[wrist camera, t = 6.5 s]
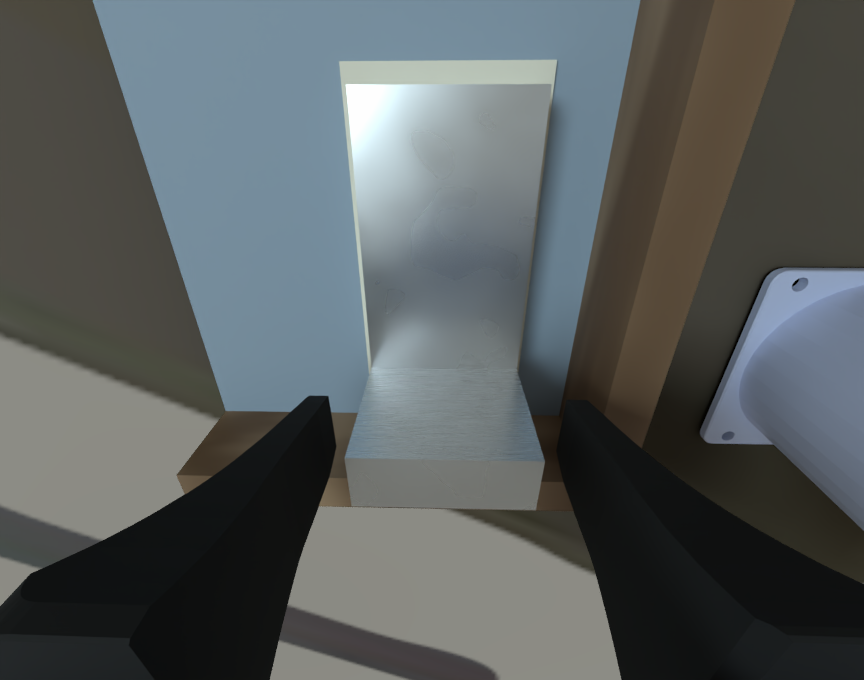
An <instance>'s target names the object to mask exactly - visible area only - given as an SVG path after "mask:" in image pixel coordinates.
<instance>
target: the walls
mask: <svg viewBox="0 0 864 680" xmlns="http://www.w3.org/2000/svg"><path fill="white" fill-rule="evenodd" d="M794 3H795V0H640V5H639V10H638V15H637V20H636V25H635V30H634V35H633V41H632V46H631V51H630V56H629V61H628V66H627V71H626V76H625V81H624V87H623V92H622V97H621V102H620V107H619V112H618V117H617V122H616V127H615V132H614V138H613V143H612V148H611V153H610V158H609V163H608V168H607V173H606V178H605V183H604V189H603V194H602V199H601V204H600V209H599V214H598V219H597V224H596V229H595V234H594V240H593V245H592V250H591V255H590V260H589V265H588V270H587V275H586V280H585V285H584V291H583V296H582V301H581V306H580V311H579V316H578V321H577V326H576V331H575V337H574V342H573V347H572V352H571V357H570V362H569V367H568V372H567V377H566V382H565V388H564V393H563V398H562V403H561V408H560V413H559V416H552V415H531V417H532V421H533V424H534V427H535V431H536V434H537V437H538V440H539V444H540V447H541V450H542V453H543V457H544V460H545V464H544V470H543V475H542V480H541V485H540V491H539V496H538V501H537V507H536V510H534V511H574V510H573V508H572V505H571V502H570V499H569V497H568V494H567V491H566V488H565V485H564V483H563V479H562V475H561V470H560V466H559V461H558V457H557V452H556V449H557V444H558V439H559V434H560V429H561V424H562V419H563V414H564V409H565V404H566V400H588V401H589V402H590V403H591V404H592V405H593V406H595V407H596V408H597V409H598V410H599V411H600V412H601V413H602V414H603V415H604V416H606V417H607V418H608V419H609V420H610V421H611V422H612V423H613V424H614V425H615V426H617V427H618V428H619V429H620V430H621V431H622V432H623V433H624V434H625V435H627V436H628V437H629V438H630V439H631V440H632V441H633V442H635V443H636V444H637V445H638V446H639V447H640V448H642V446H643V443H644V440H645V437H646V434H647V431H648V428H649V425H650V422H651V420H652V417H653V414H654V411H655V408H656V405H657V402H658V399H659V396H660V393H661V390H662V387H663V385H664V382H665V379H666V376H667V373H668V370H669V367H670V364H671V361H672V358H673V355H674V353H675V350H676V347H677V344H678V341H679V338H680V335H681V332H682V329H683V326H684V323H685V320H686V318H687V315H688V312H689V309H690V306H691V303H692V300H693V297H694V294H695V291H696V288H697V286H698V283H699V280H700V277H701V274H702V271H703V268H704V265H705V262H706V259H707V256H708V253H709V251H710V248H711V245H712V242H713V239H714V236H715V233H716V230H717V227H718V224H719V221H720V219H721V216H722V213H723V210H724V207H725V204H726V201H727V198H728V195H729V192H730V189H731V186H732V184H733V181H734V178H735V175H736V172H737V169H738V166H739V163H740V160H741V157H742V154H743V152H744V149H745V146H746V143H747V140H748V137H749V134H750V131H751V128H752V125H753V122H754V119H755V117H756V114H757V111H758V108H759V105H760V102H761V99H762V96H763V93H764V90H765V87H766V84H767V82H768V79H769V76H770V73H771V70H772V67H773V64H774V61H775V58H776V55H777V52H778V50H779V47H780V44H781V41H782V38H783V35H784V32H785V29H786V26H787V23H788V20H789V17H790V15H791V12H792V9H793V6H794ZM289 413H290V412H267V411H225V413H224V414H223V415H222V417H221V418H220V419H219V421H218V422H217V423H216V425H215V426H214V427H213V428H212V430H211V431H210V432H209V434H208V435H207V436H206V438H205V439H204V440H203V441H202V443H201V444H200V445H199V447H198V448H197V449H196V451H195V452H194V453H193V454H192V456H191V457H190V458H189V460H188V461H187V462H186V464H185V465H184V466H183V468H182V469H181V470H180V472H179V473H178V474H177V477H178V480H179V482H180V484H181V486H182V489H183V491H184V493H185V494H186V493H188V492H190V491H191V490H193V489H194V488H196V487H197V486H199V485H200V484H202V483H203V482H205V481H206V480H208V479H209V478H211V477H212V476H214V475H215V474H216V473H218V472H219V471H221V470H222V469H223V468H225V467H226V466H227V465H229V464H230V463H231V462H233V461H234V460H235V459H236V458H238V457H239V456H240V455H241V454H243V453H244V452H245V451H246V450H247V449H249V448H250V447H251V446H252V445H254V444H255V443H256V442H257V441H259V440H260V439H261V438H262V437H263V436H264V435H266V434H267V433H268V432H269V431H270V430H271V429H272V428H273V427H275V426H276V425H277V424H278V423H279V422H280V421H281V420H282V419H283V418H285V417H286V416H287V415H288V414H289ZM357 414H358V413H338V412H331V415H332V421H333V427H334V433H335V439H336V446H337V447H336V451H335V456H334V460H333V465H332V469H331V473H330V477H329V480H328V482H327V485H326V488H325V491H324V493H323V496H322V499H321V502H320V504H319V506H333V507H336V506H337V507H358V506H352V505H351V499H350V492H349V485H348V478H347V472H346V465H345V455H346V451H347V448H348V445H349V441H350V438H351V435H352V431H353V428H354V424H355V421H356V418H357ZM384 508H406V507H384ZM433 509H455V508H433ZM484 510H503V509H484Z"/></svg>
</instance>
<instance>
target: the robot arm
mask: <svg viewBox="0 0 864 680" xmlns="http://www.w3.org/2000/svg"><path fill="white" fill-rule="evenodd" d="M797 279H799V281H798V283H797V284H796V285H794V286H793V287H792V284H793V283H794V282H795V281H796V280H797ZM700 435H701V437H702V438H703V439H704V440H705V441H706V442H707V443H712V444H773V445H775V446H776V447H777V448H778V449H779V450H780V451H781V452H782V453H783V454H784V455H785V456H786V457H787V458H788V459H789V460H790V461H791V462H792V463H793V464H795V465H796V466H797V467H798V468H799V469H800V470H801V471H802V472H803V473H804V474H805V475H806V476H807V477H808V478H809V479H810V480H811V481H812V482H813V483H814V484H815V485H816V486H817V487H819V488H820V489H821V490H822V491H823V492H824V493H825V494H826V495H827V496H828V497H829V498H830V499H831V500H832V501H833V502H834V503H835V504H836V505H837V506H838V507H839V508H840V509H841V510H843V511H844V512H845V513H846V514H847V515H848V516H849V517H850V518H851V519H852V520H853V521H854V522H855V523H856V524H857V525H858V526H859V527H860V528H861V529H862V530H863V531H864V268H779V269H777V270H774V271H772V272H771V273H770V274H769V275H768V276H767V277H766V279H765V280H764V282H763V284H762V287H761V289H760V291H759V294H758V296H757V299H756V301H755V303H754V306H753V308H752V310H751V313H750V315H749V317H748V320H747V322H746V324H745V327H744V329H743V331H742V334H741V336H740V338H739V341H738V343H737V345H736V348H735V350H734V352H733V355H732V357H731V359H730V362H729V364H728V366H727V369H726V371H725V373H724V376H723V378H722V380H721V383H720V385H719V387H718V390H717V392H716V394H715V397H714V399H713V401H712V404H711V406H710V408H709V411H708V413H707V415H706V418H705V420H704V423H703V425H702V427H701V430H700ZM336 447H337V446H336V439H335V433H334V427H333V421H332V415H331V408H330V402H329V396H308V397H307V398H305V399H304V400H303V401H302V402H301V403H300V404H299V405H298V406H297V407H295V408H294V409H293V410H292V411H291V412H290V413H289V414H288V415H287V416H286V417H285V418H283V419H282V420H281V421H280V422H279V423H278V424H277V425H276V426H275V427H273V428H272V429H271V430H270V431H269V432H268V433H267V434H266V435H264V436H263V437H262V438H261V439H260V440H259V441H257V442H256V443H255V444H254V445H252V446H251V447H250V448H249V449H247V450H246V451H245V452H244V453H243V454H241V455H240V456H239V457H238V458H236V459H235V460H234V461H233V462H231V463H230V464H229V465H227V466H226V467H225V468H223V469H222V470H221V471H219V472H218V473H216V474H215V475H214V476H212V477H211V478H209V479H208V480H206V481H205V482H203V483H202V484H200V485H199V486H197V487H196V488H194V489H193V490H191V491H190V492H188V493H186V494H185V495H183V496H182V497H180V498H178V499H177V500H175V501H173V502H172V503H170V504H168V505H167V506H165V507H163V508H162V509H160V510H159V511H157V512H155V513H153V514H152V515H150V516H148V517H146V518H144V519H143V520H141V521H139V522H137V523H135V524H134V525H132V526H130V527H128V528H126V529H124V530H122V531H120V532H118V533H116V534H115V535H113V536H111V537H109V538H107V539H105V540H103V541H101V542H99V543H97V544H95V545H93V546H90V547H88V548H86V549H84V550H82V551H80V552H77V553H75V554H73V555H71V556H69V557H67V558H64V559H62V560H60V561H58V562H56V563H54V564H51V565H49V566H47V567H45V568H43V569H40V570H38V571H36V572H33V573H31V574H30V575H29V576H28V577H27V579H25V580H24V581H23V582H22V583H21V585H20V586H19V587H18V588H17V589H16V590H15V591H14V592H13V593H12V595H10V596H9V598H8V599H7V600H6V601H5V602H4V603H3V604H2V605H1V606H0V680H270V675H271V671H272V667H273V662H274V658H275V653H276V649H277V645H278V641H279V636H280V632H281V628H282V624H283V620H284V616H285V612H286V608H287V604H288V600H289V596H290V592H291V589H292V585H293V580H294V577H295V573H296V570H297V566H298V563H299V559H300V556H301V553H302V550H303V547H304V545H305V542H306V539H307V536H308V534H309V531H310V528H311V526H312V523H313V520H314V518H315V515H316V512H317V510H318V507H319V504H320V502H321V499H322V496H323V493H324V491H325V488H326V485H327V482H328V480H329V477H330V473H331V469H332V465H333V460H334V456H335V451H336ZM556 452H557V457H558V461H559V466H560V470H561V475H562V479H563V483H564V485H565V488H566V491H567V494H568V497H569V499H570V502H571V505H572V508H573V510H574V513H575V516H576V519H577V521H578V524H579V527H580V529H581V532H582V535H583V538H584V540H585V543H586V546H587V548H588V551H589V554H590V557H591V560H592V563H593V566H594V569H595V573H596V576H597V580H598V584H599V588H600V591H601V595H602V599H603V603H604V607H605V611H606V615H607V618H608V623H609V627H610V631H611V635H612V640H613V643H614V647H615V652H616V657H617V661H618V666H619V670H620V675H621V679H622V680H864V584H862V583H860V582H858V581H856V580H854V579H851V578H849V577H847V576H845V575H843V574H841V573H839V572H837V571H835V570H833V569H830V568H828V567H826V566H824V565H822V564H820V563H818V562H816V561H815V560H813V559H811V558H809V557H807V556H805V555H803V554H801V553H799V552H798V551H796V550H794V549H792V548H790V547H788V546H786V545H784V544H782V543H781V542H779V541H777V540H775V539H774V538H772V537H770V536H768V535H766V534H765V533H763V532H761V531H759V530H758V529H756V528H754V527H753V526H751V525H749V524H748V523H746V522H744V521H743V520H741V519H739V518H738V517H736V516H734V515H733V514H731V513H729V512H728V511H726V510H725V509H723V508H722V507H720V506H719V505H717V504H715V503H714V502H712V501H711V500H709V499H708V498H706V497H705V496H704V495H702V494H701V493H699V492H698V491H696V490H695V489H693V488H692V487H691V486H689V485H688V484H686V483H685V482H683V481H682V480H681V479H679V478H678V477H677V476H675V475H674V474H673V473H671V472H670V471H669V470H668V469H666V468H665V467H664V466H663V465H661V464H660V463H659V462H657V461H656V460H655V459H654V458H652V457H651V456H650V455H649V454H648V453H646V452H645V451H644V450H643V449H642V448H640V447H639V446H638V445H637V444H636V443H635V442H633V441H632V440H631V439H630V438H629V437H628V436H627V435H625V434H624V433H623V432H622V431H621V430H620V429H619V428H618V427H617V426H615V425H614V424H613V423H612V422H611V421H610V420H609V419H608V418H607V417H606V416H604V415H603V414H602V413H601V412H600V411H599V410H598V409H597V408H596V407H595V406H593V405H592V404H591V403H590V402H589V401H588V400H566V404H565V409H564V414H563V419H562V424H561V429H560V434H559V439H558V444H557V449H556Z"/></svg>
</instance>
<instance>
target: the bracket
mask: <svg viewBox="0 0 864 680" xmlns="http://www.w3.org/2000/svg"><path fill="white" fill-rule="evenodd" d="M551 86H552V84H402V85H346V89H347V100H348V111H349V123H350V134H351V145H352V156H353V167H354V178H355V189H356V200H357V212H358V223H359V234H360V245H361V256H362V267H363V278H364V290H365V301H366V312H367V323H368V334H369V345H370V356H371V371H370V374H369V378H368V381H367V384H366V388H365V391H364V394H363V398H362V401H361V404H360V408H359V411H358V414H357V418H356V421H355V424H354V428H353V431H352V435H351V438H350V441H349V445H348V448H347V451H346V455H345V465H346V472H347V478H348V485H349V492H350V499H351V505H352V506H358V507H406V508H455V509H503V510H536V507H537V501H538V496H539V491H540V485H541V480H542V475H543V470H544V464H545V460H544V457H543V453H542V450H541V447H540V444H539V440H538V437H537V434H536V431H535V427H534V424H533V421H532V417H531V414H530V411H529V408H528V404H527V401H526V398H525V395H524V391H523V388H522V385H521V381H520V378H519V375H518V372H517V364H518V356H519V347H520V339H521V331H522V323H523V315H524V307H525V298H526V290H527V282H528V274H529V266H530V258H531V249H532V241H533V233H534V225H535V217H536V209H537V201H538V192H539V184H540V176H541V168H542V160H543V152H544V143H545V135H546V127H547V119H548V111H549V103H550V94H551Z"/></svg>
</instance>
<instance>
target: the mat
mask: <svg viewBox="0 0 864 680" xmlns="http://www.w3.org/2000/svg"><path fill="white" fill-rule="evenodd" d="M93 3H94V6H95V9H96V12H97V15H98V18H99V21H100V24H101V27H102V30H103V33H104V37H105V40H106V43H107V46H108V49H109V52H110V55H111V58H112V61H113V64H114V67H115V70H116V74H117V77H118V80H119V83H120V86H121V89H122V92H123V95H124V98H125V101H126V104H127V107H128V111H129V114H130V117H131V120H132V123H133V126H134V129H135V132H136V135H137V138H138V141H139V144H140V148H141V151H142V154H143V157H144V160H145V163H146V166H147V169H148V172H149V175H150V178H151V181H152V185H153V188H154V191H155V194H156V197H157V200H158V203H159V206H160V209H161V212H162V215H163V218H164V222H165V225H166V228H167V231H168V234H169V237H170V240H171V243H172V246H173V249H174V252H175V255H176V259H177V262H178V265H179V268H180V271H181V274H182V277H183V280H184V283H185V286H186V289H187V292H188V296H189V299H190V302H191V305H192V308H193V311H194V314H195V317H196V320H197V323H198V326H199V329H200V333H201V336H202V339H203V342H204V345H205V348H206V351H207V354H208V357H209V360H210V363H211V366H212V370H213V373H214V376H215V379H216V382H217V385H218V388H219V391H220V394H221V397H222V400H223V403H224V407H225V410H226V411H267V412H291V411H292V410H293V409H294V408H295V407H297V406H298V405H299V404H300V403H301V402H302V401H303V400H304V399H305V398H307V397H308V396H329V402H330V408H331V412H338V413H358V411H359V408H360V404H361V401H362V398H363V394H364V391H365V388H366V384H367V381H368V378H369V374H370V371H371V356H370V345H369V334H368V323H367V312H366V301H365V290H364V278H363V267H362V256H361V245H360V234H359V223H358V212H357V200H356V189H355V178H354V167H353V156H352V145H351V134H350V123H349V111H348V100H347V89H346V85H402V84H552V86H551V94H550V103H549V111H548V119H547V127H546V135H545V143H544V152H543V160H542V168H541V176H540V184H539V192H538V201H537V209H536V217H535V225H534V233H533V241H532V249H531V258H530V266H529V274H528V282H527V290H526V298H525V307H524V315H523V323H522V331H521V339H520V347H519V356H518V364H517V372H518V375H519V378H520V381H521V385H522V388H523V391H524V395H525V398H526V401H527V404H528V408H529V411H530V414H531V415H552V416H559V413H560V408H561V403H562V398H563V393H564V388H565V382H566V377H567V372H568V367H569V362H570V357H571V352H572V347H573V342H574V337H575V331H576V326H577V321H578V316H579V311H580V306H581V301H582V296H583V291H584V285H585V280H586V275H587V270H588V265H589V260H590V255H591V250H592V245H593V240H594V234H595V229H596V224H597V219H598V214H599V209H600V204H601V199H602V194H603V189H604V183H605V178H606V173H607V168H608V163H609V158H610V153H611V148H612V143H613V138H614V132H615V127H616V122H617V117H618V112H619V107H620V102H621V97H622V92H623V87H624V81H625V76H626V71H627V66H628V61H629V56H630V51H631V46H632V41H633V35H634V30H635V25H636V20H637V15H638V10H639V5H640V0H93Z"/></svg>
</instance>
